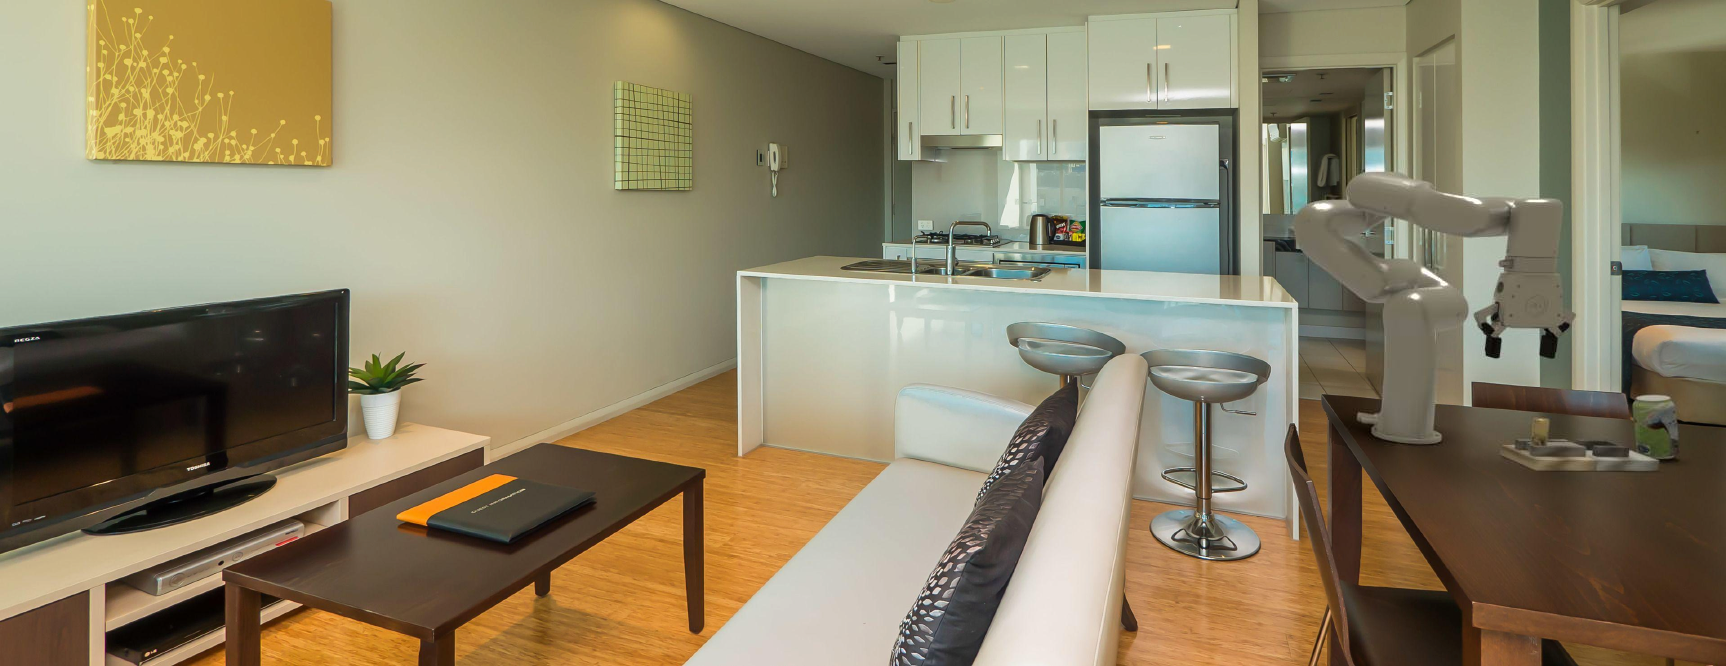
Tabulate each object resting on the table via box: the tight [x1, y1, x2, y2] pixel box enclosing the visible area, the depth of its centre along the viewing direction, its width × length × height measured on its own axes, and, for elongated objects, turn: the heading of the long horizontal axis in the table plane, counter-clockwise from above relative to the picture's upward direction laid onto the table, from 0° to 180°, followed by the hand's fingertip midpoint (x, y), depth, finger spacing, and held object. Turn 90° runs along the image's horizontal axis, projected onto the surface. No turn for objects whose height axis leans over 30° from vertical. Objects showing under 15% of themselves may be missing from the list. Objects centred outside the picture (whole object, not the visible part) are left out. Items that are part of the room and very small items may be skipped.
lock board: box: [1500, 438, 1660, 472], centre depth 161 cm, size 21×10×4 cm, turn 85°
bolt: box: [1526, 417, 1580, 452], centre depth 161 cm, size 8×2×6 cm, turn 85°
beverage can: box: [1632, 394, 1680, 460], centre depth 163 cm, size 6×7×12 cm
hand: (1519, 357), depth 160 cm, fingers open, 9 cm apart
